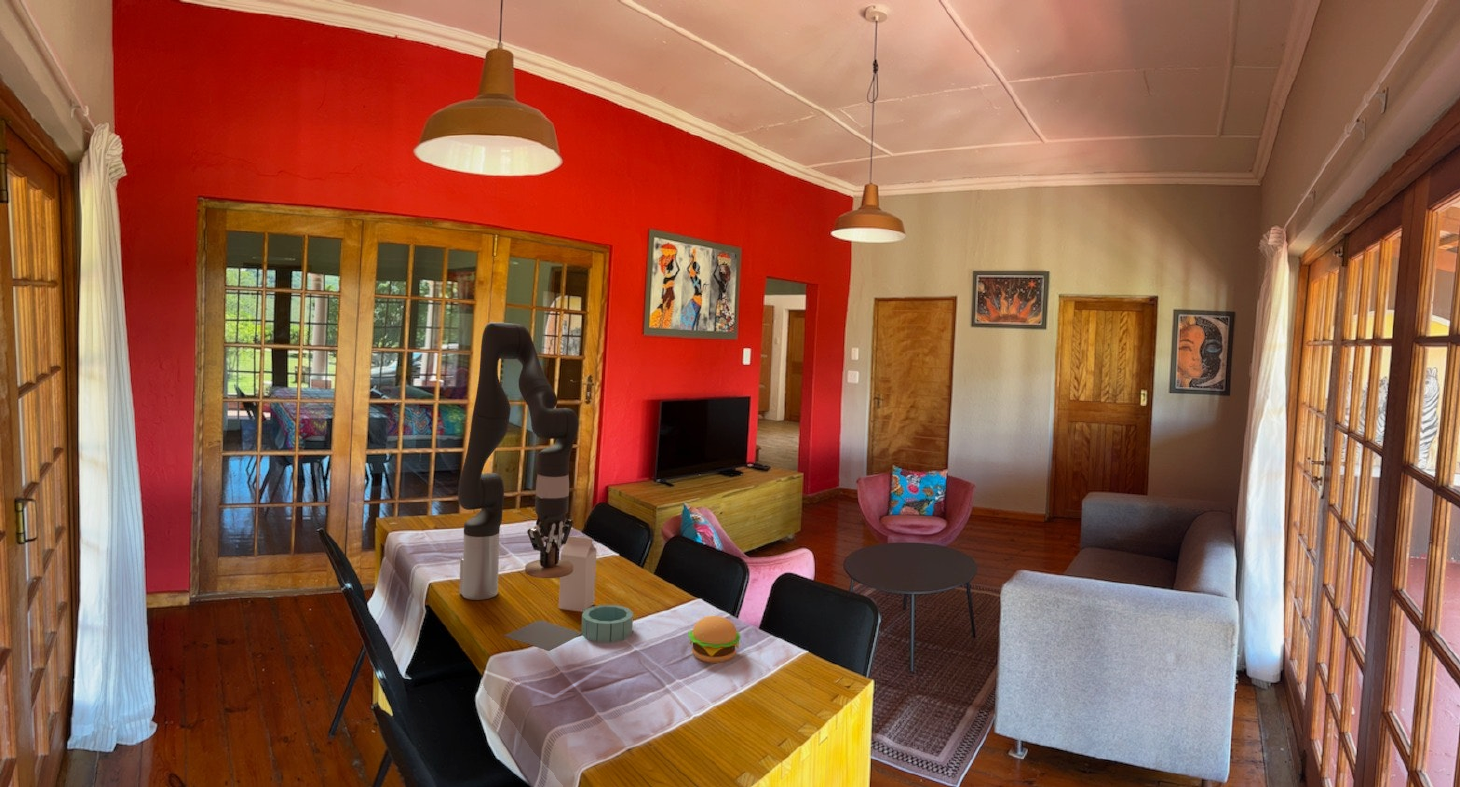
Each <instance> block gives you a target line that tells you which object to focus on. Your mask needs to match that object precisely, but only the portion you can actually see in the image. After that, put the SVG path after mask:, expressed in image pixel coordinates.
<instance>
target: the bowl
mask: <svg viewBox="0 0 1460 787" xmlns="http://www.w3.org/2000/svg"><path fill="white" fill-rule="evenodd" d="M633 623H634V612H633V611H632V610H631V609H630V608H628V607H626V606H622V605H618V604H600V605H594V606H593V605H592V606H591V607H589V608H588V609H586V610H584V612H582V614H581V629H580V630H581V631H580V632H581V636H583V637H584V638H585V639H586V640H589V641H593V642H598V643H613V642H621V641H623V640H626V639H627V638H629V637H631V636H632V633H633Z"/></svg>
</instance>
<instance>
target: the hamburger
mask: <svg viewBox="0 0 1460 787" xmlns="http://www.w3.org/2000/svg"><path fill="white" fill-rule="evenodd" d="M688 638H689V639H690V641H689V644H690V645H692V646H691V652H692V655H693V656H694V657H695V658H696V659H698V660H700V661H702V662H705V663H712V664H718V663H719V664H720V663H721V664H722V663H725V662H729V661H730V660H732V659H733V657H735V655H736V651H737V650H736V648H737V649H739V646H740V640H741V635H740V632H739V631H738V630H737V628H736V625H735V624H734V623H733V622H732V621H731V620H729V619H728V618H726V617H723V616H719V615H710V616H709V615H708V616H705V617H703V618H701V619H700V620H698V621H696V623H695V624H694V626H693V627H692V630H690V631H689V632H688Z"/></svg>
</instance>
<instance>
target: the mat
mask: <svg viewBox="0 0 1460 787" xmlns="http://www.w3.org/2000/svg"><path fill="white" fill-rule="evenodd" d="M579 636H582V634H581V631H578V630H575V629H570V628H569V627H565V626H561V625H558V624H554V623H552V622H548V621H544V620H541V619H538V620H536V621H534V622H532V623H529V624H527V625H525V626H523V627H520V628H518V629H515V630H514V631H511V632H509V633H507V634H504V635H503V637H505V638H507V639H511V640H514V641H517V642H520V643H523V644H527V645H530V646H533V647H535V648H537V649H542V650H545V651H548V652H551V650H554V649H556V648H557V647H559V646H561V645H563V644H566V643H568V642H569V641H571V640H573V639H575V638H577V637H579Z"/></svg>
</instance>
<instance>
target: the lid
mask: <svg viewBox="0 0 1460 787" xmlns="http://www.w3.org/2000/svg"><path fill="white" fill-rule="evenodd" d="M549 552H550V566H549V567H548V568H545V567H541V565H540V559H536V560H532V561H529V562H528V563H527V564H525V568H524V571H525V574H526V575H527V576H530V577H533V578H537V579H538V578H539V579H557V578H559V579H560V577H563V576H567V575H569V574H571V573H572V572H573V564H572V563H570V562H568V561H565V560H560V559H561V558H559V561H558V564H556V565H555V547H554V546H550V551H549Z"/></svg>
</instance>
